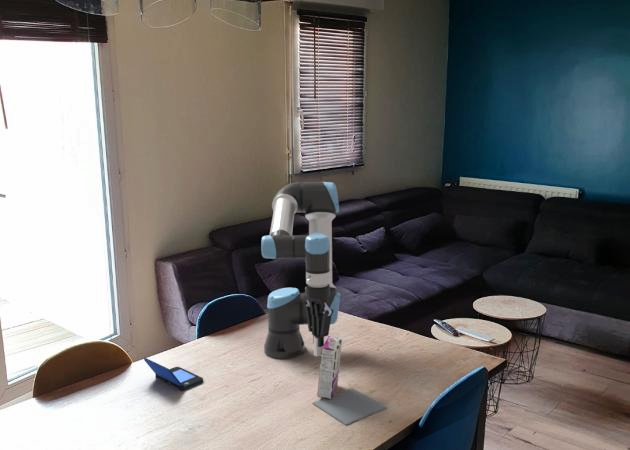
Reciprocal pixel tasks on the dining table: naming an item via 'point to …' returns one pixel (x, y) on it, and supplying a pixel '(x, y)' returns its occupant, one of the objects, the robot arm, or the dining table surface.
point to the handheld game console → (175, 376)
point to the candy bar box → (329, 367)
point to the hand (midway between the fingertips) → (318, 354)
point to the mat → (349, 406)
